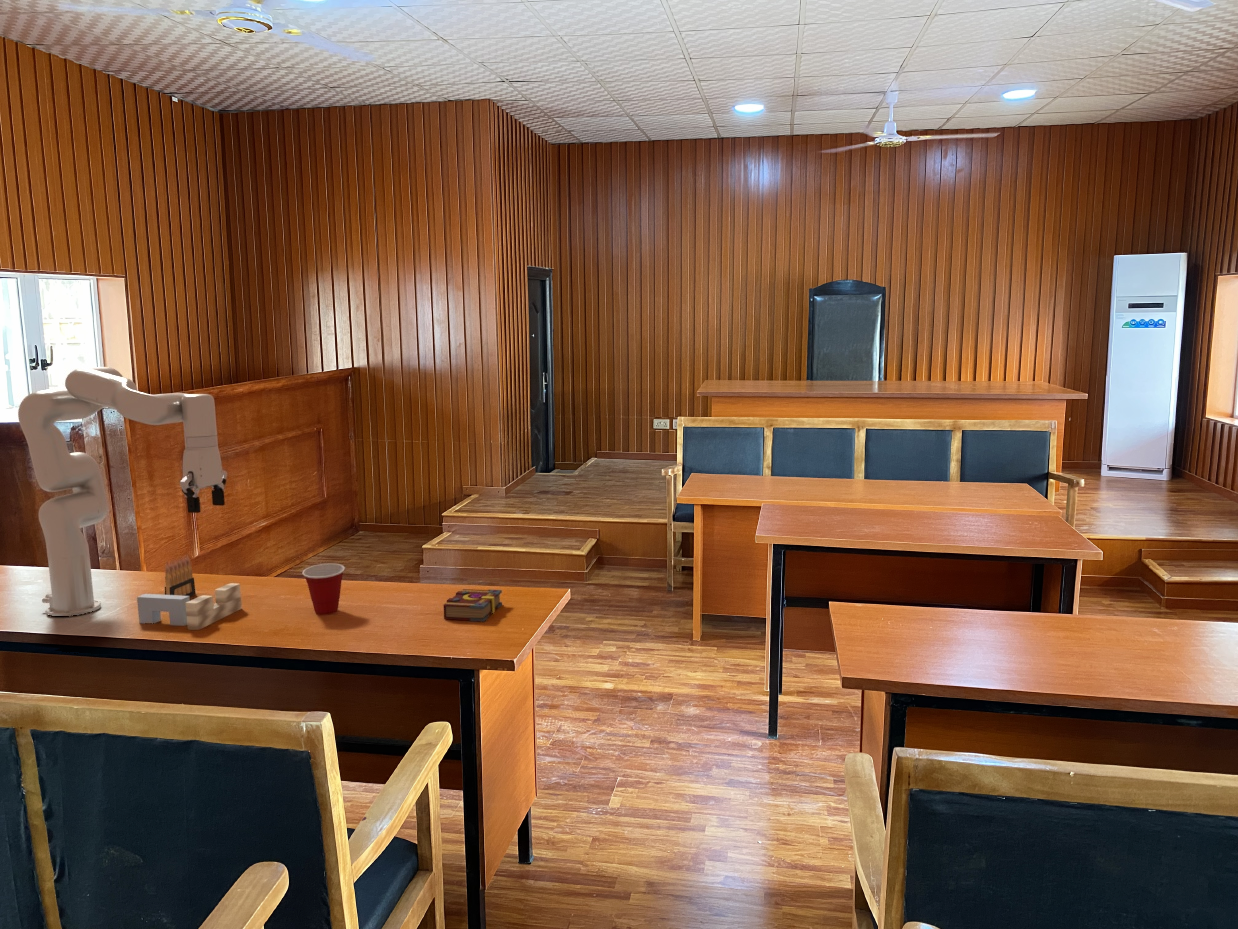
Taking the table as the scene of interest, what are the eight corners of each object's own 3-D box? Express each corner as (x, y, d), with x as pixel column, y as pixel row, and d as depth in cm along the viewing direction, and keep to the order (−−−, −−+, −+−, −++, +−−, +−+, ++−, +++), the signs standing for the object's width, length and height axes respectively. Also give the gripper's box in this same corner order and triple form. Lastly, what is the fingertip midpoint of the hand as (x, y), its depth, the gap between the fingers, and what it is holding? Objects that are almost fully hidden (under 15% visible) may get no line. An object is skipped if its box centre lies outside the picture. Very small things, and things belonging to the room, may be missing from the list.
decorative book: (442, 621, 226) (442, 602, 225) (464, 602, 242) (464, 585, 241) (484, 623, 224) (483, 604, 223) (503, 604, 240) (503, 587, 239)
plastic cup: (298, 618, 228) (295, 574, 227) (313, 606, 239) (311, 563, 237) (339, 618, 228) (336, 573, 226) (352, 605, 239) (350, 563, 237)
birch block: (198, 630, 220) (196, 603, 219) (187, 629, 220) (185, 602, 219) (241, 608, 237) (239, 583, 236) (231, 608, 238) (230, 583, 237)
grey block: (139, 623, 226) (136, 597, 225) (147, 619, 229) (145, 593, 228) (183, 625, 223) (181, 599, 222) (191, 622, 226) (189, 596, 225)
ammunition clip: (171, 605, 241) (167, 563, 239) (165, 605, 241) (161, 563, 240) (195, 594, 252) (192, 553, 250) (190, 594, 252) (186, 553, 250)
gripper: (210, 438, 231) (215, 502, 233) (164, 446, 214) (170, 515, 216) (235, 439, 229) (240, 503, 232) (192, 447, 213) (197, 515, 215)
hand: (206, 508), depth 224 cm, fingers open, 9 cm apart
